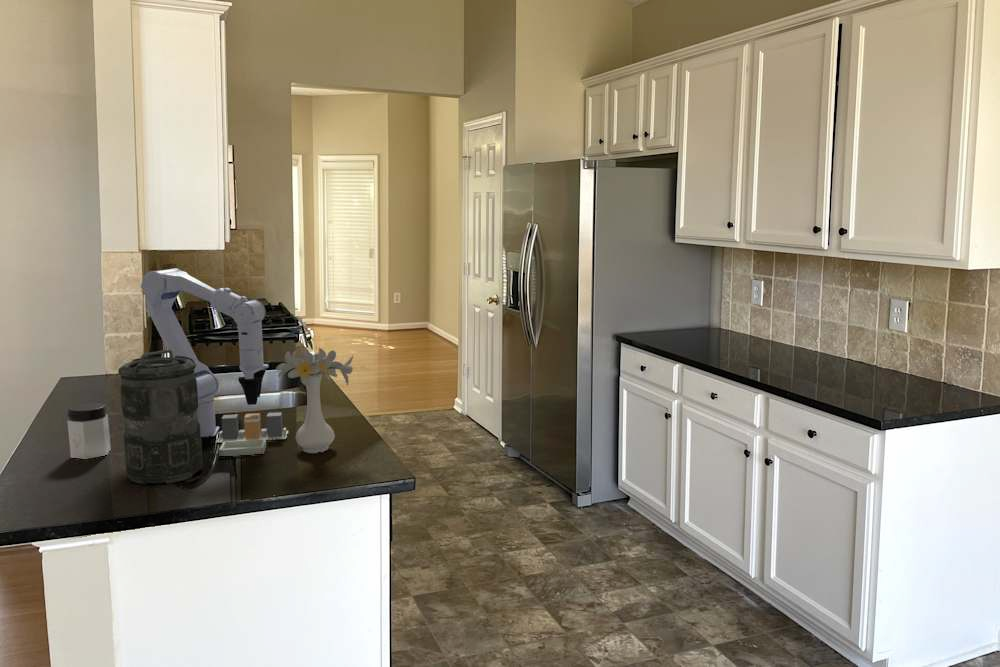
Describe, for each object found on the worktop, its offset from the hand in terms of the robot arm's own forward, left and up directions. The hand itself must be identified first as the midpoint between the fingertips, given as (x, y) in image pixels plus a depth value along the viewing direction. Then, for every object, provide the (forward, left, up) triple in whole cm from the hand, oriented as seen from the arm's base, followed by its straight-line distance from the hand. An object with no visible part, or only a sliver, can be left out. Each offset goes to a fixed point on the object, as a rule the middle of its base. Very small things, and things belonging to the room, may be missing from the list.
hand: (253, 400), depth 209 cm
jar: (-38, -7, -10) cm, 40 cm away
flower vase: (+16, -13, -10) cm, 23 cm away
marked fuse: (-1, 0, -9) cm, 9 cm away
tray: (-2, -11, -10) cm, 15 cm away
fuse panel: (-1, 0, -10) cm, 10 cm away
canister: (-17, -25, -10) cm, 32 cm away
